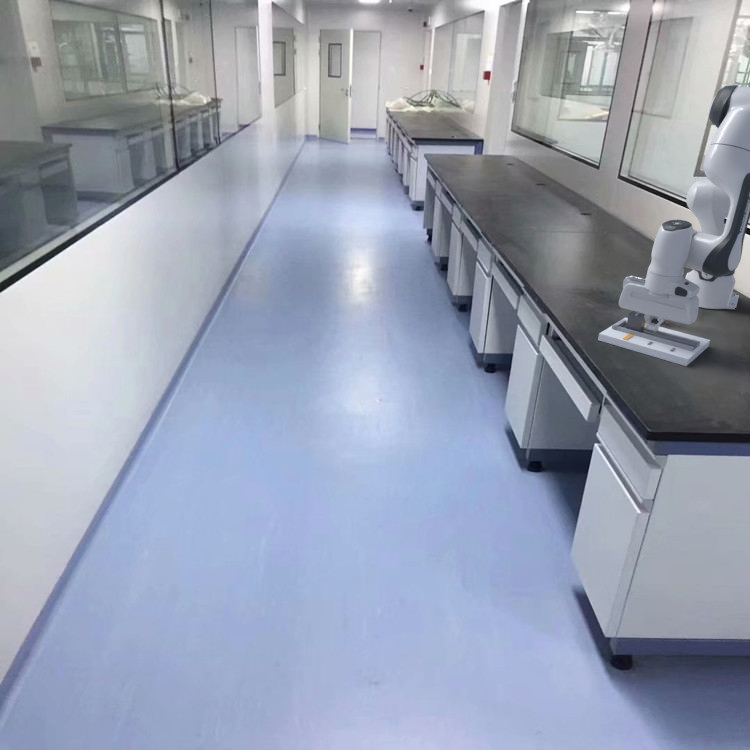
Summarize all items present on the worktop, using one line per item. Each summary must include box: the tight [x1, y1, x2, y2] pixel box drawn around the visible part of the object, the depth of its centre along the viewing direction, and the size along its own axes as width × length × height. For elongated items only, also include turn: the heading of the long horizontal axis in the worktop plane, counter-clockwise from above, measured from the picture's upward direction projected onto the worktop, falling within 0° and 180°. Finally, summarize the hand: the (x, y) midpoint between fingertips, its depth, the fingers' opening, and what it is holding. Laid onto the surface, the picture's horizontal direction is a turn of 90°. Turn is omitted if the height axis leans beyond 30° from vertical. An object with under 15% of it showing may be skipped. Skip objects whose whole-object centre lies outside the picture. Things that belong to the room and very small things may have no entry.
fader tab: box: [626, 311, 646, 333], centre depth 175 cm, size 3×4×5 cm
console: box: [597, 317, 711, 367], centre depth 173 cm, size 18×24×4 cm
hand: (651, 330), depth 173 cm, fingers closed
